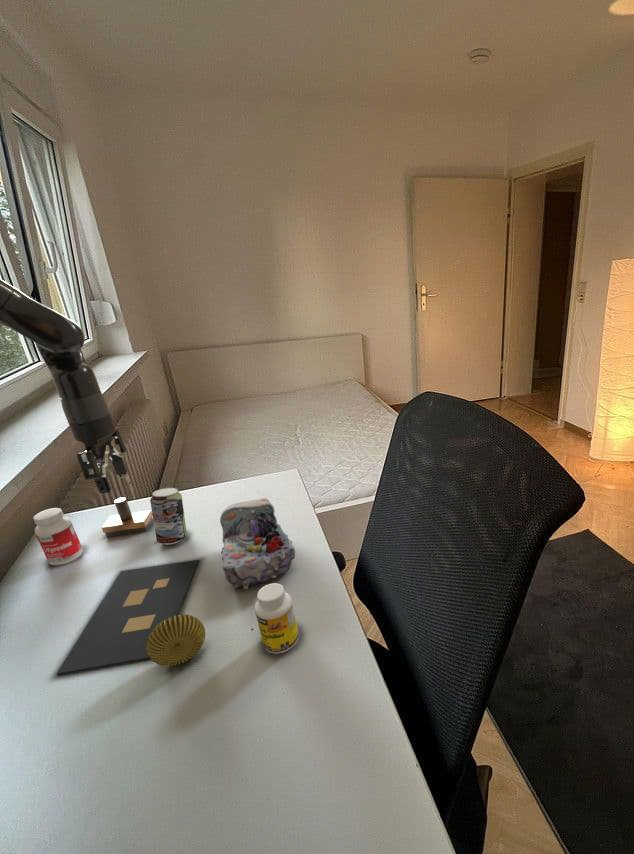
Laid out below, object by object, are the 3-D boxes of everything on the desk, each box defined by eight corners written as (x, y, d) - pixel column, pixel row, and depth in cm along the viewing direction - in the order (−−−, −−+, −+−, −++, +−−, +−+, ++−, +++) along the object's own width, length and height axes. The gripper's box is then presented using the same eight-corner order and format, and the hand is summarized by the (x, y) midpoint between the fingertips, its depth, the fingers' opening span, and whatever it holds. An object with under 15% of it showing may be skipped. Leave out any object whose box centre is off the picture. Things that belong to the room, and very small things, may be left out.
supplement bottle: (257, 653, 69) (244, 603, 65) (273, 625, 74) (262, 577, 70) (290, 658, 68) (279, 607, 64) (305, 629, 73) (295, 580, 69)
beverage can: (152, 547, 96) (135, 500, 92) (175, 528, 103) (161, 483, 98) (176, 550, 95) (160, 502, 90) (198, 530, 101) (185, 485, 97)
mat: (57, 676, 67) (56, 673, 67) (121, 573, 89) (121, 571, 89) (162, 657, 69) (160, 655, 69) (199, 561, 91) (199, 559, 91)
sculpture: (208, 638, 72) (196, 601, 69) (212, 655, 69) (200, 617, 66) (154, 662, 69) (138, 623, 65) (156, 681, 65) (140, 641, 62)
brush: (105, 538, 101) (93, 508, 98) (114, 526, 105) (103, 497, 102) (147, 532, 102) (137, 502, 99) (154, 520, 107) (145, 491, 103)
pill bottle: (46, 570, 91) (24, 525, 87) (52, 554, 96) (32, 510, 92) (81, 560, 94) (62, 516, 89) (86, 545, 99) (67, 502, 94)
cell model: (267, 486, 96) (295, 532, 80) (276, 527, 101) (303, 578, 85) (204, 504, 91) (220, 557, 75) (215, 546, 95) (233, 606, 79)
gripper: (85, 406, 98) (110, 471, 105) (50, 429, 85) (80, 501, 92) (121, 402, 99) (143, 466, 106) (91, 424, 86) (119, 496, 93)
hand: (114, 482), depth 99 cm, fingers open, 8 cm apart
